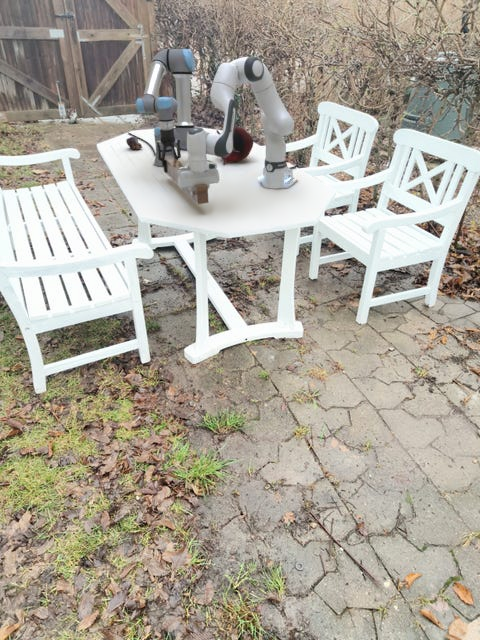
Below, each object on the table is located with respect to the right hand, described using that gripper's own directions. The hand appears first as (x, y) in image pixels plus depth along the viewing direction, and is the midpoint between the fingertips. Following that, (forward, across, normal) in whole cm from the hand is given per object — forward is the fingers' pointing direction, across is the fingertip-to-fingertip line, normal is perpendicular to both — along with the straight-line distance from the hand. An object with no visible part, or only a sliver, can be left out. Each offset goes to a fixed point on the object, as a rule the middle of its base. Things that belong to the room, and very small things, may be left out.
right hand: (199, 194), depth 219 cm
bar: (+3, 0, +26) cm, 26 cm away
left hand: (+2, 0, +51) cm, 51 cm away
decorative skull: (+9, +53, +79) cm, 95 cm away
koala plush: (+9, +35, +122) cm, 128 cm away
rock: (+9, -2, +137) cm, 137 cm away
